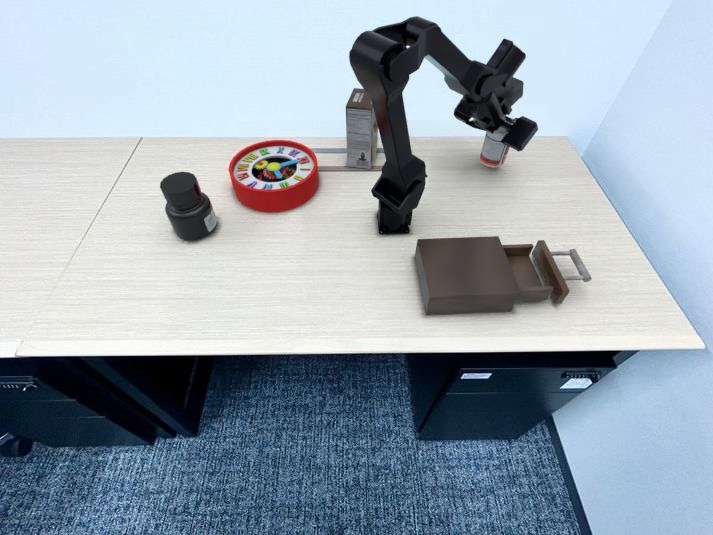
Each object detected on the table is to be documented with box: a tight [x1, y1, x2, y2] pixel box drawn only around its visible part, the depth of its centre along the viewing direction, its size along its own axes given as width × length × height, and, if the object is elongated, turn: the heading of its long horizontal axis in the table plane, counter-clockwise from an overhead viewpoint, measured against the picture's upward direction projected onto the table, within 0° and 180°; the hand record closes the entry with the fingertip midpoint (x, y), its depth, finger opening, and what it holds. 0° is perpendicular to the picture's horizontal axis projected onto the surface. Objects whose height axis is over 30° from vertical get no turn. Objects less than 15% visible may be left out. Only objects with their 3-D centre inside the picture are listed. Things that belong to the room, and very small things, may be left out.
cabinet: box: [413, 235, 521, 316], centre depth 73 cm, size 16×14×6 cm
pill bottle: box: [478, 114, 516, 169], centre depth 95 cm, size 6×6×11 cm
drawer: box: [502, 239, 593, 305], centre depth 74 cm, size 20×12×4 cm, turn 93°
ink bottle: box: [159, 171, 219, 242], centre depth 81 cm, size 10×9×12 cm
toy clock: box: [228, 139, 320, 214], centre depth 93 cm, size 20×6×20 cm
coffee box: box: [345, 87, 379, 170], centre depth 96 cm, size 9×6×16 cm
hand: (502, 135), depth 94 cm, fingers closed on pill bottle, 6 cm apart
